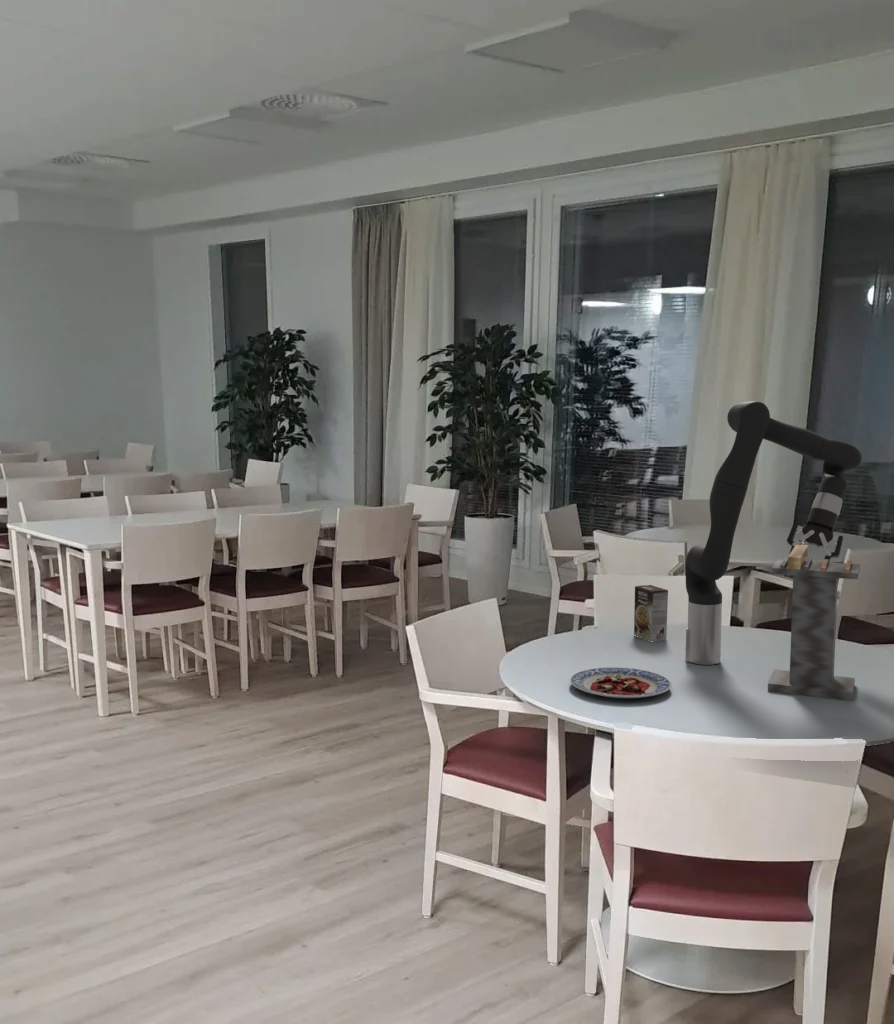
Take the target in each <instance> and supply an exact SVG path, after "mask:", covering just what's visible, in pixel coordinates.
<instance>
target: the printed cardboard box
mask: <svg viewBox="0 0 894 1024" xmlns="http://www.w3.org/2000/svg"><path fill="white" fill-rule="evenodd" d="M668 597H669V589H665V588H662V587H659V586H655V585H652V584H648V585H643V584H642V585H635V586H634V610H633V611H634V618H633V619H634V622H633V623H634V624H633V627H634V628H633V636H634V635H636V636H638V637H641V638H643V639H642V640H644V639H646V640H649V641H657V642H661V641H660V640H664V641H667V634H668V632H667V630H668V625H667V624H668V607H669V606H668V599H669V598H668ZM636 636H635V637H636ZM638 637H637V638H638ZM641 638H640V639H641ZM646 640H645V641H646ZM649 641H648V642H649Z"/></svg>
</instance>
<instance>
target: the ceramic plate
mask: <svg viewBox="0 0 894 1024" xmlns="http://www.w3.org/2000/svg"><path fill="white" fill-rule="evenodd" d="M569 681H570V683H571V685H572V686H573V687H575V688H576V689H578V690H580V691H583V692H585V693H589V694H591V695H596V696H600V697H604V698H612V699H620V700H621V699H622V700H625V699H626V700H627V699H628V700H629V699H631V700H632V699H641V698H648V697H654V696H657V695H662V694H664V693H666V692H668V691H670V689H672V682H671V681H670V679H669V678H667V677H665V676H663V675H661V674H659V673H657V672H653V671H649V670H643V669H638V668H630V667H597V668H589V669H585V670H581V671H579V672H576V673H575V674H573V675H572V676H571V677H570V680H569Z"/></svg>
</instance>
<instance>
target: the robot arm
mask: <svg viewBox="0 0 894 1024" xmlns="http://www.w3.org/2000/svg"><path fill="white" fill-rule="evenodd" d="M726 420H727V423H728V425H729V427H730V428H731V430H733V432H735V433H736V435H735V439H734V442H733V444H732V448H731V449H730V451H729V454H727V457H725V460H724V461H723V463H722V464H721V466H720V468H719V469H718V470H717V473H716V475H715V477H714V481H713V484H712V488H711V491H710V496H709V514H710V529H709V534H708V537H707V541H706V544H696V545H694V546H692V547H691V548H689V550H688V552H687V555H686V558H685V566H684V567H685V568H684V569H685V570H684V571H685V589H686V593H687V597H688V606H687V612H688V613H687V627H686V628H685V658H684V659H685V662H689V663H692V664H696V665H703V666H705V665H707V666H710V665H711V666H712V665H717V664H719V663H721V657H722V656H721V652H722V651H721V650H722V649H721V648H722V646H721V645H722V616H723V615H722V614H723V594H722V592H721V590H720V589H719V587H718V586H717V582H716V581H718V580H719V579H721V578H722V577H723V576H724V575H725V574H726V572H727V570H728V568H729V563H730V559H731V553H732V547H733V542H734V536H735V533H736V529H737V525H738V521H739V518H740V514H741V511H742V507H743V504H744V502H745V498H746V495H747V491H748V487H749V484H750V480H751V476H752V473H753V469H754V465H755V464H756V463H755V462H756V458H757V456H758V452H759V450H760V447H761V445H762V442H763V440H765V441H768V442H771V443H773V444H777V445H778V446H781V447H783V448H786V449H788V450H791V451H793V452H794V453H797V454H799V455H801V456H804V457H806V458H809V459H812V460H813V461H823V463H822V471H821V482H820V485H819V488H818V489H817V493H816V495H815V498H814V500H813V503H812V505H811V508H810V510H809V514H808V516H807V520H806V522H805V524H804V526H801V525H798V523H795V522H794V523H793V525H792V527H791V529H790V531H789V534H788V535H787V536H788V537H787V539H786V542H787V544H788V545H789V546H791V548H790V551H789V554H788V556H789V555H790V553H791V552H792V550H793V549H794V547H795V546H796V545H805V544H806V543H807V545H811V546H812V545H814V546H816V547H817V548H820V547H822V548H823V551H824V552H825V555H824V558H823V560H824V559H829V562H830V561H831V559H832V558H837V559H838V558H839V557H840V555H841V554H840V553H841V550H842V546H843V543H844V537H843V535H835V534H834V530H835V527H836V525H837V522H838V519H839V516H840V514H841V509H842V505H843V502H844V497H845V496H846V492H847V489H848V482H847V480H846V479H844V478H843V477H844V474H845V472H846V471H852V470H854V469H856V468H858V467H859V466H860V465H861V463H862V460H863V459H862V458H863V457H862V453H861V451H860V450H859V449H858V448H857V447H856V446H854V445H852V444H850V443H848V442H844V441H840V440H836V439H830V438H827V437H825V436H822V435H821V434H818V433H816V432H813V431H812V430H809V429H806V428H802V427H799V426H797V425H793V424H789V423H786V422H782V421H780V420H777V419H775V418H772V417H771V414H770V410H769V408H768V406H767V405H766V404H765V403H763V402H762V401H757V400H754V401H752V400H751V401H742V402H738V403H736V404H734V405H733V406H732V407H730V409H729V410H728V412H727V419H726ZM801 531H802V534H803V535H802V536H801V537H799V538H798V539H797V540H796V541H794V539H795V537H796V534H799V533H800V532H801ZM832 540H833V541H834V544H836V546H835V549H834V551H832V552H831V549H830V547H829V542H831V541H832Z"/></svg>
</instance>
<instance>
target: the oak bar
mask: <svg viewBox="0 0 894 1024" xmlns="http://www.w3.org/2000/svg"><path fill="white" fill-rule="evenodd" d="M808 545H809V544H803V545H796V546H795V547H794V549H793V550H792V552H791V553H790V552H789V554H790V555H789V554H788V556H787V557H788V568H787V569H798V570H800V569H801V567H802V565H803V564H804V562H805V561H807V559H808V552H809V546H808Z"/></svg>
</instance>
